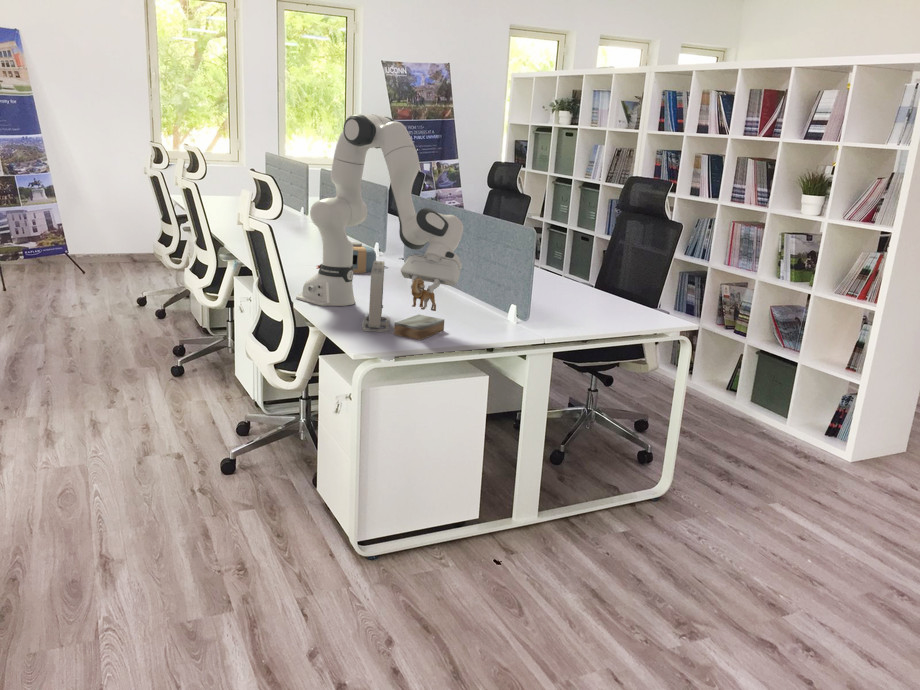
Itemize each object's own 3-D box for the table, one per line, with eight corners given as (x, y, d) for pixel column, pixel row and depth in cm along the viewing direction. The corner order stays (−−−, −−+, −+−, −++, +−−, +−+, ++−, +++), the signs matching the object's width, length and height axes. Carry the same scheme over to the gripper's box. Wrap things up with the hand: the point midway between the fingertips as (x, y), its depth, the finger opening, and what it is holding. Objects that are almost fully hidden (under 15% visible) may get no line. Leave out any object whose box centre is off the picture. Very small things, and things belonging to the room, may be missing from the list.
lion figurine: (421, 305, 255) (424, 277, 256) (406, 304, 257) (409, 277, 258) (438, 312, 269) (441, 286, 270) (424, 311, 271) (427, 285, 272)
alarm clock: (326, 269, 364) (327, 243, 361) (344, 263, 382) (345, 238, 379) (364, 274, 359) (366, 248, 356) (381, 268, 377) (383, 243, 374)
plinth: (393, 334, 261) (394, 322, 260) (418, 325, 275) (418, 314, 274) (420, 340, 257) (421, 328, 256) (443, 330, 271) (444, 319, 270)
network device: (364, 315, 284) (367, 259, 279) (389, 316, 285) (392, 261, 279) (361, 333, 259) (363, 272, 254) (388, 334, 260) (391, 274, 255)
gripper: (407, 247, 269) (391, 279, 263) (461, 255, 261) (445, 289, 255) (413, 259, 274) (397, 291, 268) (466, 267, 266) (451, 300, 260)
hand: (421, 290), depth 262 cm, fingers closed on lion figurine, 5 cm apart
